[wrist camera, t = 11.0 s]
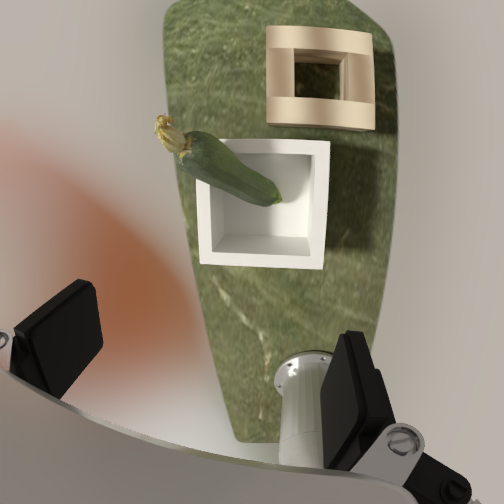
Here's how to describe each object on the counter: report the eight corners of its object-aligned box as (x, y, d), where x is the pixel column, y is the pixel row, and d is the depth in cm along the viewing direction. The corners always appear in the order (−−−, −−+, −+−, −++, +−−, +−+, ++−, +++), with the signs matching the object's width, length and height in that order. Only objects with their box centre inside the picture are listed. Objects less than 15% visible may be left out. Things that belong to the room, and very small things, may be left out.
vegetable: (259, 216, 38) (128, 161, 22) (255, 186, 39) (133, 120, 23) (290, 207, 36) (164, 135, 20) (285, 175, 37) (167, 94, 21)
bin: (321, 142, 36) (330, 141, 28) (316, 246, 41) (322, 269, 33) (213, 140, 37) (195, 140, 30) (215, 242, 42) (200, 263, 35)
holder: (360, 48, 30) (371, 33, 25) (362, 131, 35) (374, 129, 29) (269, 42, 32) (266, 25, 26) (269, 126, 36) (266, 122, 30)
